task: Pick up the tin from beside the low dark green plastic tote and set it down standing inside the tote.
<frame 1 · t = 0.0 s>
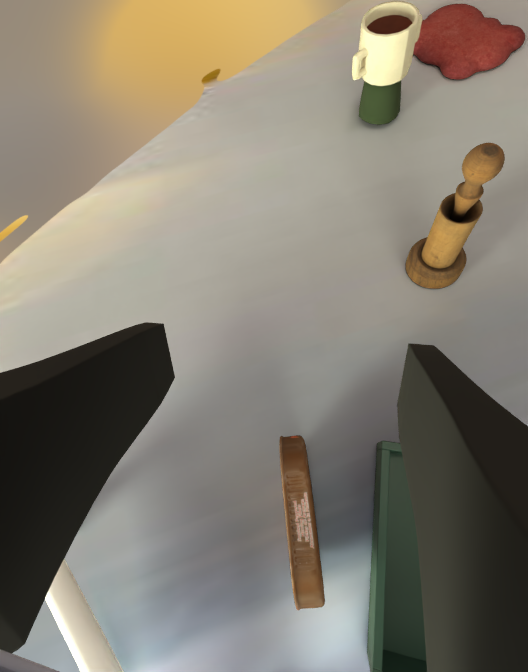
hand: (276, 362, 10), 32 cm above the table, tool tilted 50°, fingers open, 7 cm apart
paper towel holder: (91, 593, 39), on the table
tote: (433, 551, 34), on the table
character mug: (378, 115, 55), on the table
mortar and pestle: (432, 267, 44), on the table
patty: (457, 45, 57), on the table
tin: (305, 508, 38), on the table
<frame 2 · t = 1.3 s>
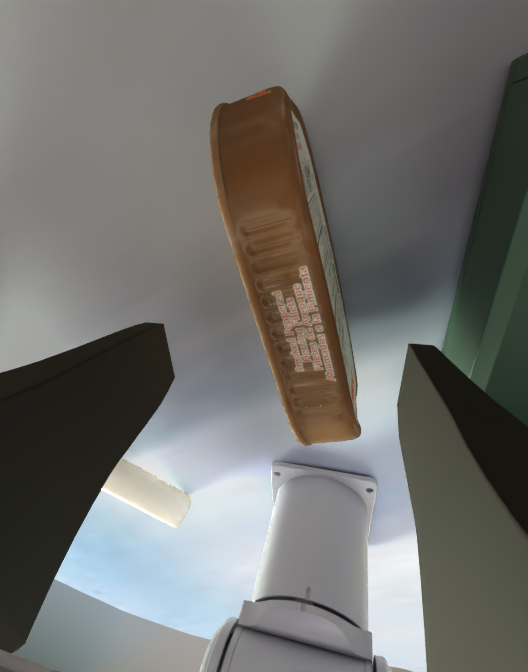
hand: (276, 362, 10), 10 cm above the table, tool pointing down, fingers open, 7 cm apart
paper towel holder: (53, 395, 30), on the table
tin: (316, 260, 19), on the table
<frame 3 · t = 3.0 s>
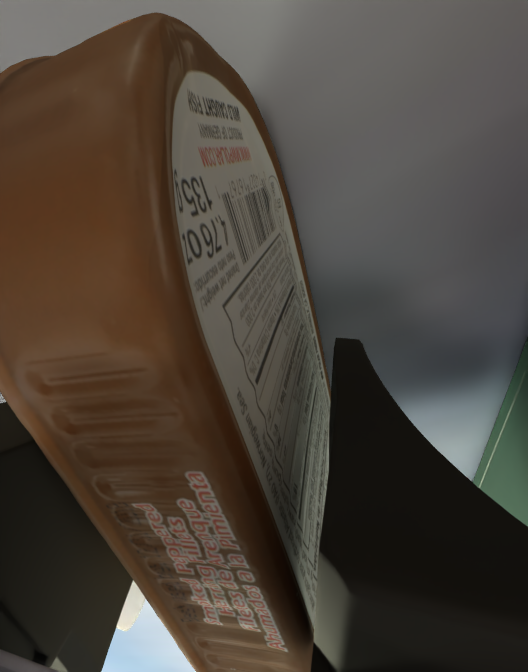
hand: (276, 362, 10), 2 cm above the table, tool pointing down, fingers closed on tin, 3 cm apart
tin: (291, 324, 12), on the table, touching gripper
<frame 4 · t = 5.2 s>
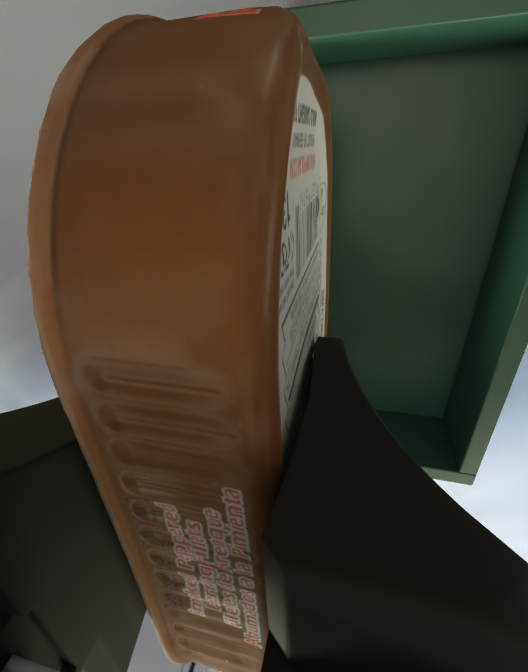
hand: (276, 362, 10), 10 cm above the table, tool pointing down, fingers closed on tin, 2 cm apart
tote: (373, 270, 18), on the table
tin: (299, 326, 12), point 7 cm above the table, touching gripper
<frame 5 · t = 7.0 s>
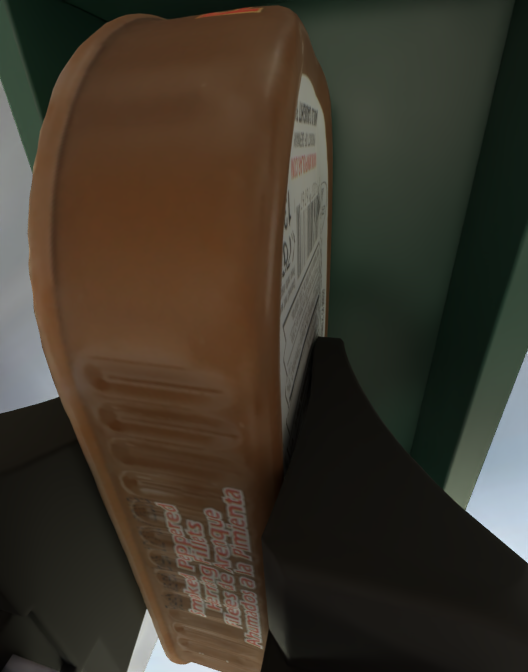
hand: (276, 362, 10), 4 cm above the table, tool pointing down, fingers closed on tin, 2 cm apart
tote: (297, 307, 13), on the table
tin: (299, 326, 12), point 1 cm above the table, touching gripper
when the fingers open (3 cm above the table, at t = 7.5 s): tin stays where it is, resting on tote.
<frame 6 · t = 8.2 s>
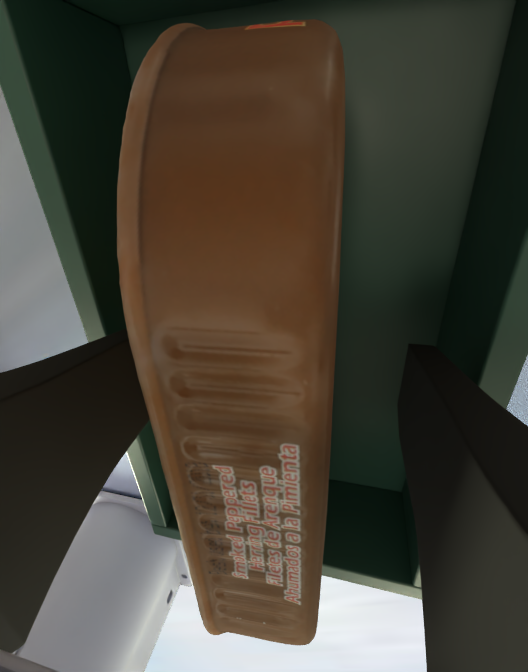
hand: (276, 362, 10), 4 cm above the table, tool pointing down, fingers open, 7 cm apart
tote: (297, 308, 13), on the table
tin: (303, 317, 13), resting on tote
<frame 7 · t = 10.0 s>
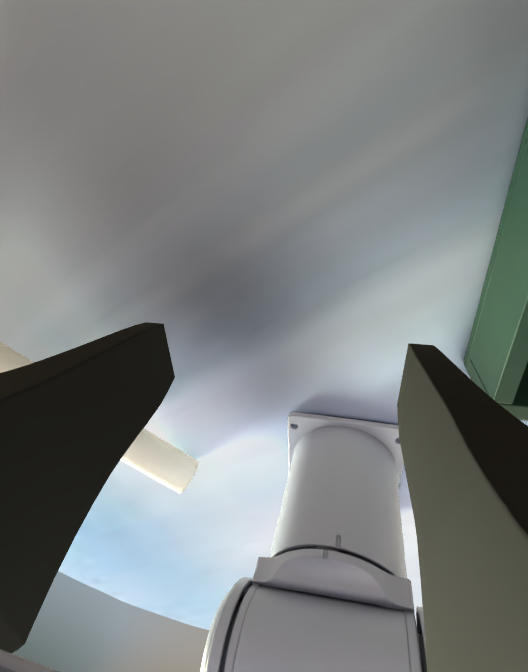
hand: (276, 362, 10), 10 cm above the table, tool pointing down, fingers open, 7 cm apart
paper towel holder: (48, 348, 28), on the table
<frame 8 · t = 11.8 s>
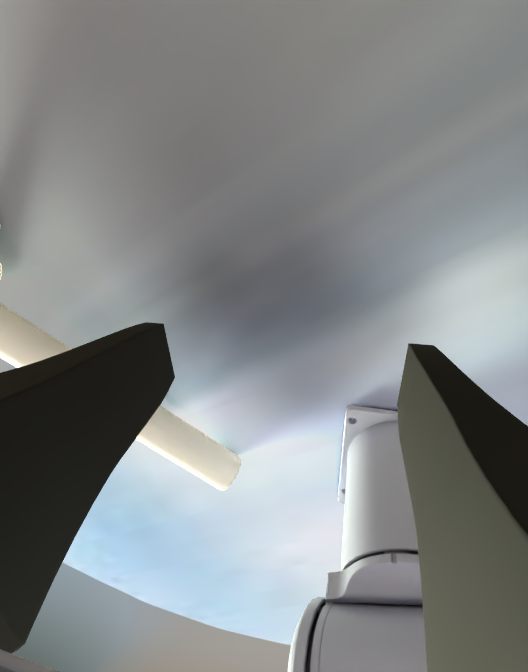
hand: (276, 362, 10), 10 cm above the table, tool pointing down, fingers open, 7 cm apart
paper towel holder: (84, 336, 26), on the table
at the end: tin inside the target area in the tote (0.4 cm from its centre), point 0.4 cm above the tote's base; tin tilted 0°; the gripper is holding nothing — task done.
